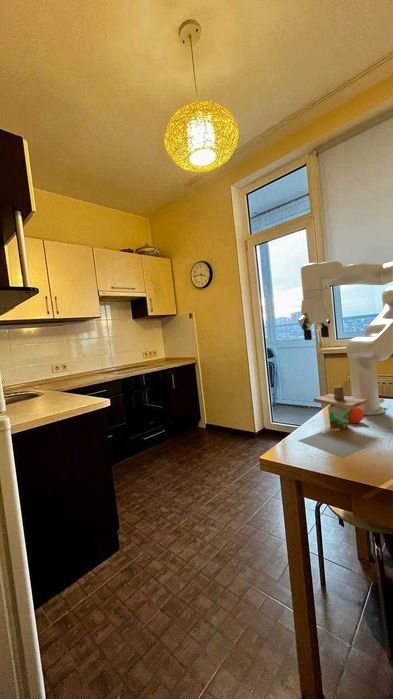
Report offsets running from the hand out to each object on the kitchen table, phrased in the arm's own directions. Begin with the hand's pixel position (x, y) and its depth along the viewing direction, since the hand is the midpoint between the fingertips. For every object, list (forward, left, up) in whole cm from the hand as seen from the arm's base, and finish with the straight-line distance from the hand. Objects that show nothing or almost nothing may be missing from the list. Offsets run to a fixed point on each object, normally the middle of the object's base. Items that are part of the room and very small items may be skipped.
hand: (316, 338), depth 116 cm
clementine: (-4, +10, -34) cm, 35 cm away
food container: (+4, +11, -34) cm, 35 cm away
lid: (+4, +11, -23) cm, 26 cm away
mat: (+19, +18, -33) cm, 42 cm away
